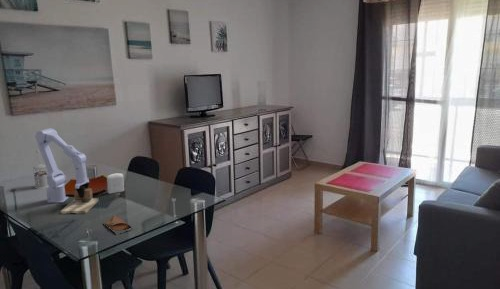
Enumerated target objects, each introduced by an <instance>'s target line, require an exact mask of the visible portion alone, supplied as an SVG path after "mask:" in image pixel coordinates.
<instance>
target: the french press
mask: <svg viewBox="0 0 500 289" xmlns="http://www.w3.org/2000/svg"><path fill="white" fill-rule="evenodd" d="M35 153H40V150H39V149H38V150H36V151H35ZM37 159H38V161H40V158H39V156H37ZM45 168H46V169H47V167H46V165H45V164H41V163H38V164H36V165H34V166H32V169H33V170H34V172H33V177H34V184H35V186H34V187H35V188H37V189H36V190H42V189H43V190H44V189H47V188H48V187H49V186H48V184H47V178H46V177H47V175H48V173H47V171H45V170H44V171H43V170H42V169H45ZM38 170H39V171H38ZM35 188H34V189H35Z"/></svg>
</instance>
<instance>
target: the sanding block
mask: <svg viewBox="0 0 500 289" xmlns="http://www.w3.org/2000/svg"><path fill="white" fill-rule="evenodd" d="M73 195H74V199H75V200H91V199H92V198H94V197H93V188H90V187H88V188H85V190H84V197H83V198H80V197H79V194H78V192H77V190H76V189H75V188H74V189H73Z"/></svg>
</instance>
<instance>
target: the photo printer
mask: <svg viewBox="0 0 500 289" xmlns="http://www.w3.org/2000/svg"><path fill="white" fill-rule="evenodd" d="M106 183H107V184H106V186H107V194H115V193H116V194H117V193H120V192H121V193H123V192H125V181H124V174H123V173H120V172H119V173H117V172H115V173H112V174H109V175H107V176H106Z"/></svg>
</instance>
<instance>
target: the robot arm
mask: <svg viewBox="0 0 500 289" xmlns="http://www.w3.org/2000/svg"><path fill="white" fill-rule="evenodd" d="M34 137H35V141H36V142H37V147H38V151H39V153H40V155H41V157H42V160H43V162H44V165H46V170H47V172H48V173H47V177H46V178H47V184H48V186H49V187H47V188H46V197H47V203H50V204H51V203H54V204H55V203H65V201H66V200H68V199H69V196H66V190H65V189H66V188H65V185H66V182H67V176H66V175H65V174H64V171H62V170H61V169H59V168H58V165H57V162H56V160H55V157H54V155H53V153H52V149H51V148H50V143H51V142H53V143H54V144H56V145H57V146H58V147H60V148H61V149H62V150H63V151H62V152H63V153H64V154H65V155H66V156H67V157H68V158H69V159H71V163H72V164H73V167H74V172H75V178H76V181H75V182H76V183H75V185H74V190H75V189H76V190H77V192H78V194H79V197H80V198H83V197H84V190H85V188H89V186H90V180H89V176H88V175H87V168H86V167H87V166H86V162H87V160H88V156H87V155H86V154H85V153H84V152H81V151H79V150H78V149H76V148H75V146H74V145H71V144H68V143H67V142H65V140H64V139H63V138H62V137H60V136H59V135H58V131H56V130H55V129H54V128H53V127H49V128H46V129H42V130H37V131H36V132H35V135H34ZM87 176H88V177H87Z"/></svg>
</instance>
